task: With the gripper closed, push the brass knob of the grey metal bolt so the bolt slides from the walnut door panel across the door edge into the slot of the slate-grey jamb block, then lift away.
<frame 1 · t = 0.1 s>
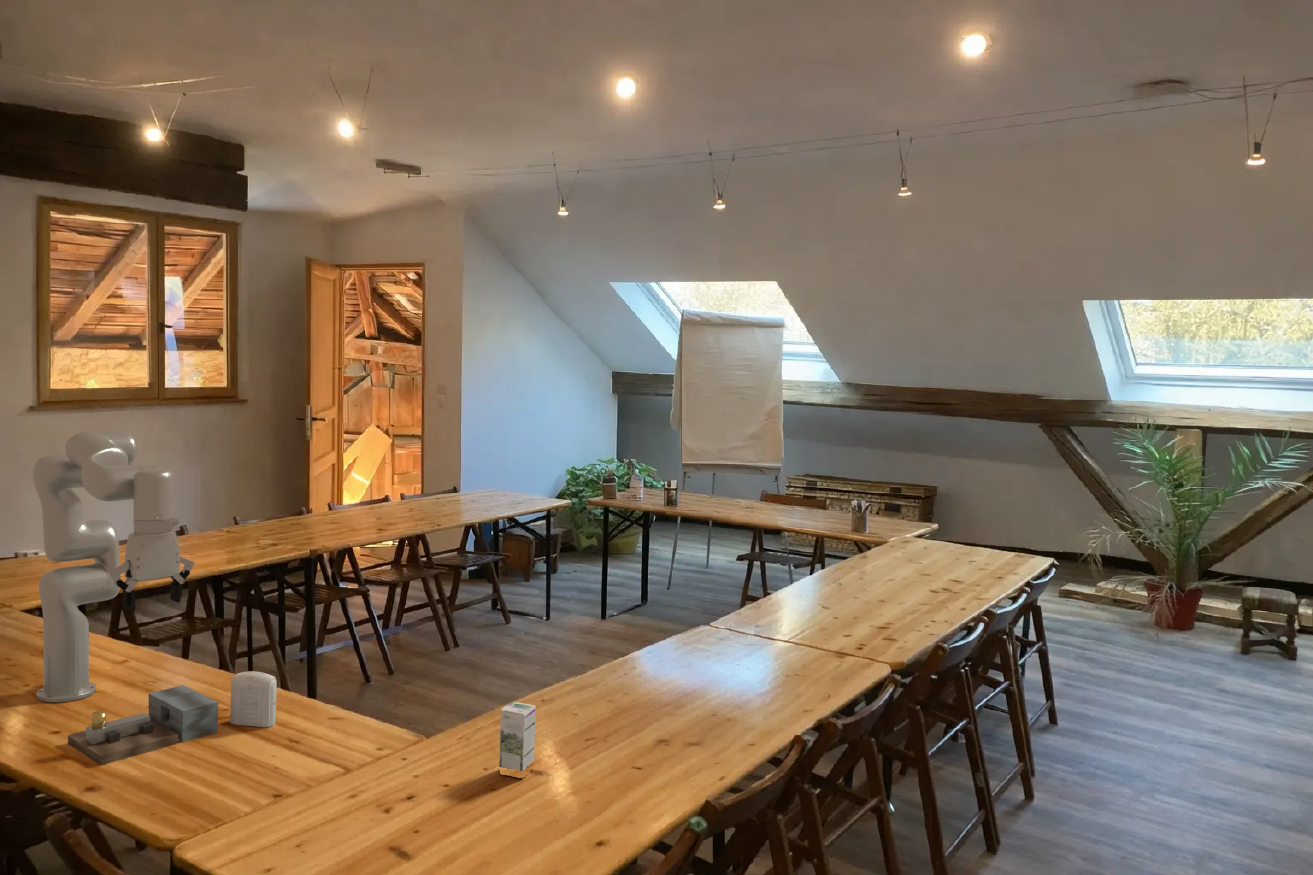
hand: (152, 604, 208), 31 cm above the table, tool pointing down, fingers open, 9 cm apart
photo printer: (253, 724, 225), on the table
bolt: (118, 721, 209), point 5 cm above the table, slide at 0.0 cm
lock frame: (146, 737, 214), on the table
syrup box: (516, 773, 205), on the table
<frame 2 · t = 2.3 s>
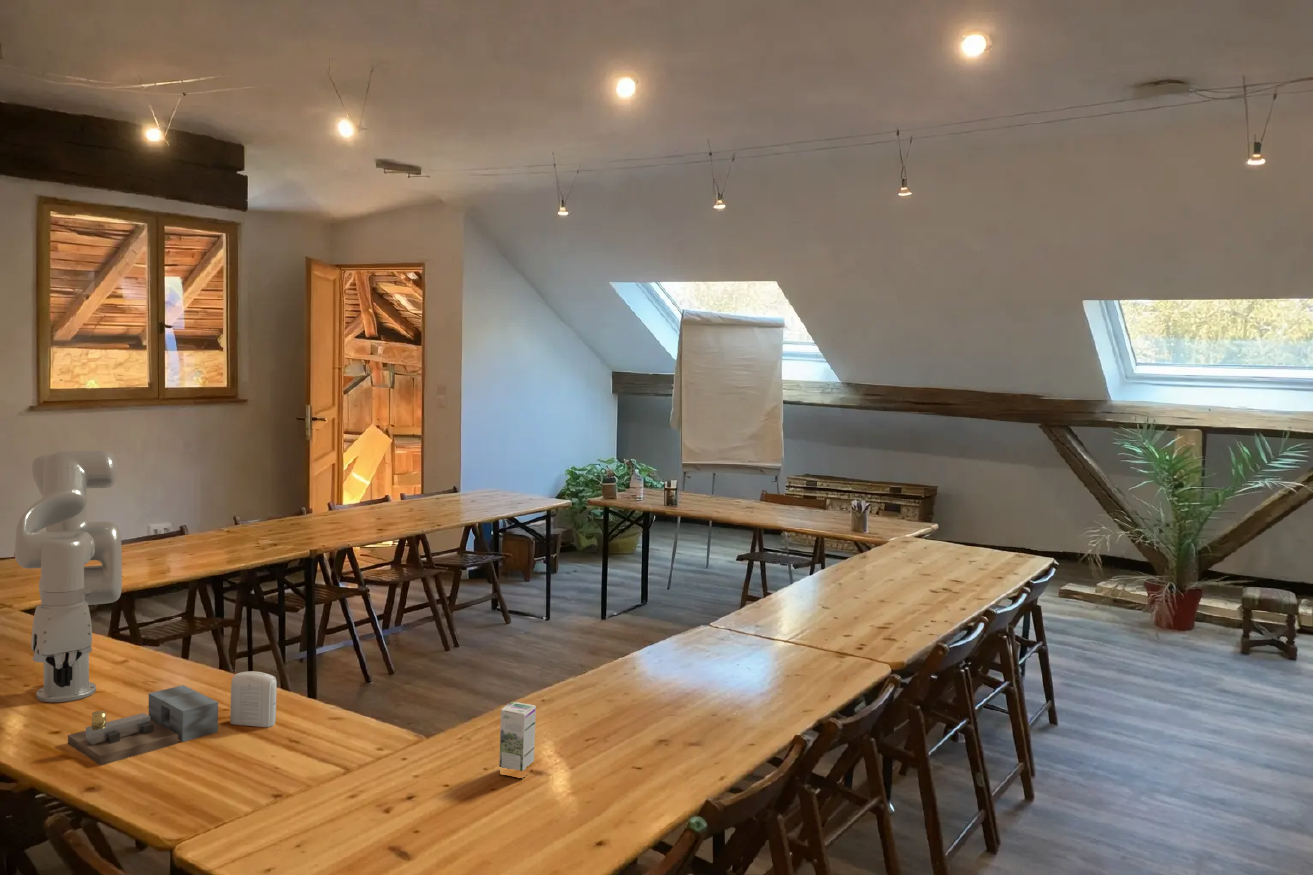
hand: (62, 685, 199), 16 cm above the table, tool pointing down, fingers closed
nothing on the table moved.
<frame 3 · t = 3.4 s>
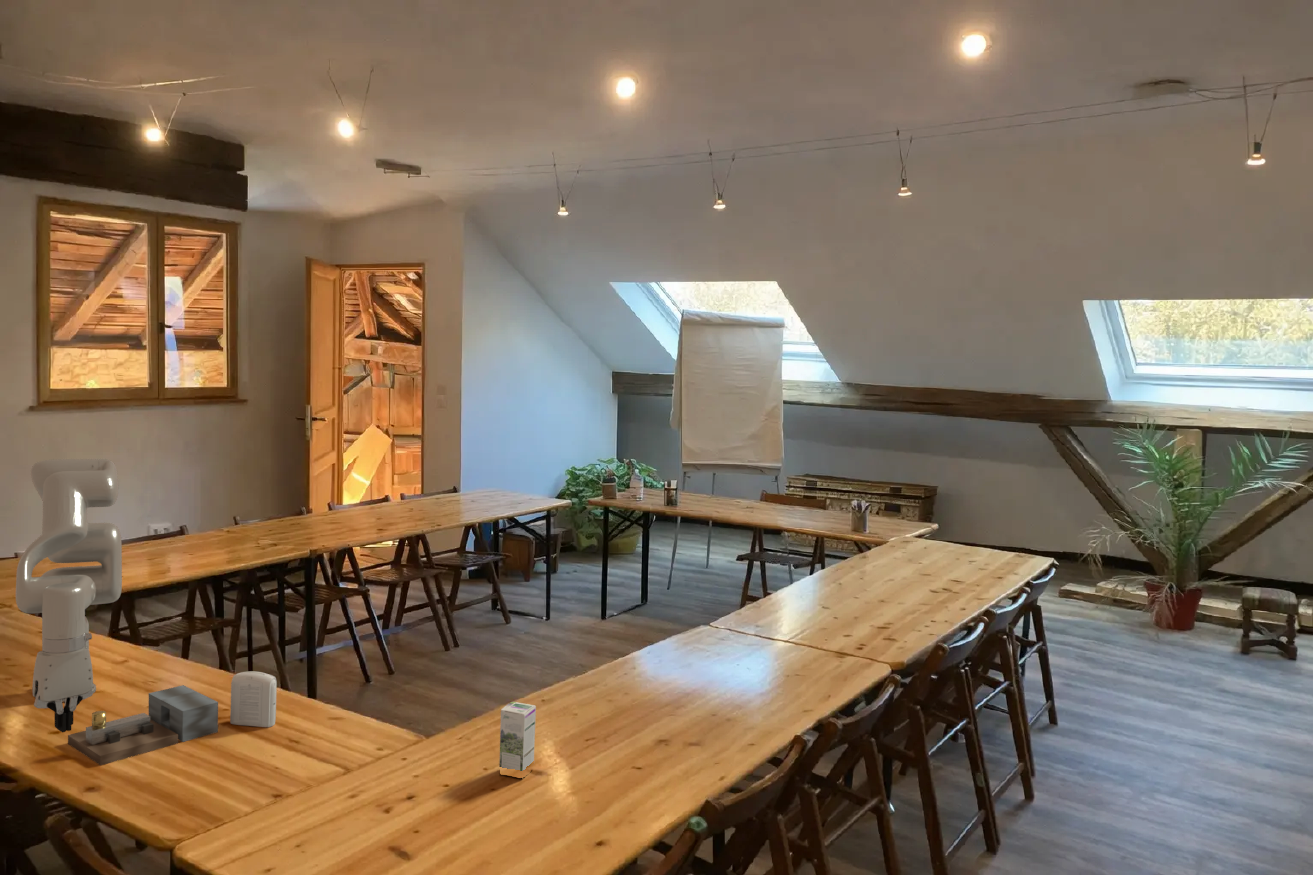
hand: (64, 729, 201), 7 cm above the table, tool pointing down, fingers closed
nothing on the table moved.
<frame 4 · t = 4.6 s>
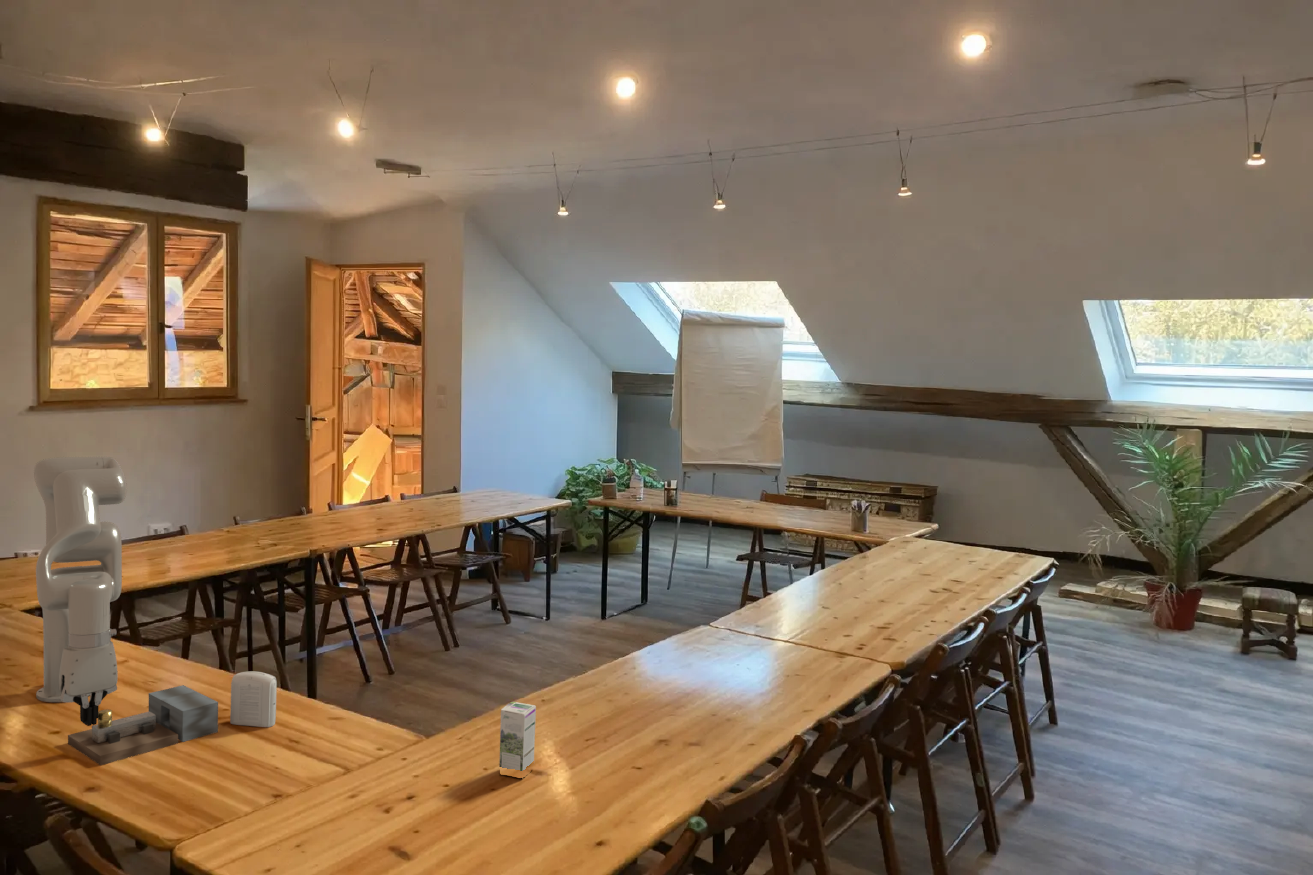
hand: (89, 723, 205), 6 cm above the table, tool pointing down, fingers closed
bolt: (124, 720, 210), point 5 cm above the table, slide at 1.2 cm, touching gripper
everything else where it was.
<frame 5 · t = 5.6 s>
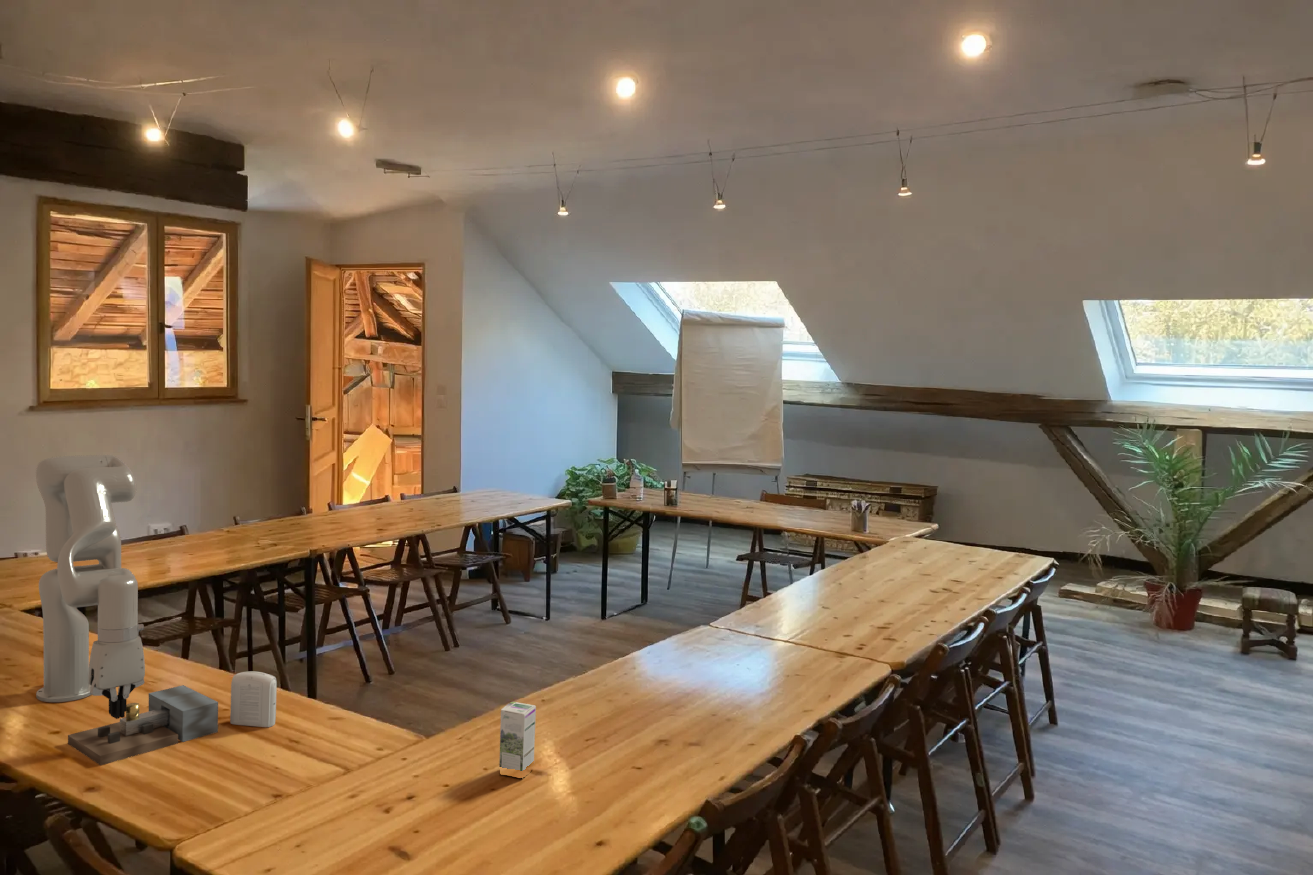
hand: (117, 716, 209), 6 cm above the table, tool pointing down, fingers closed
bolt: (151, 713, 215), point 5 cm above the table, slide at 6.9 cm, touching gripper
everything else where it was.
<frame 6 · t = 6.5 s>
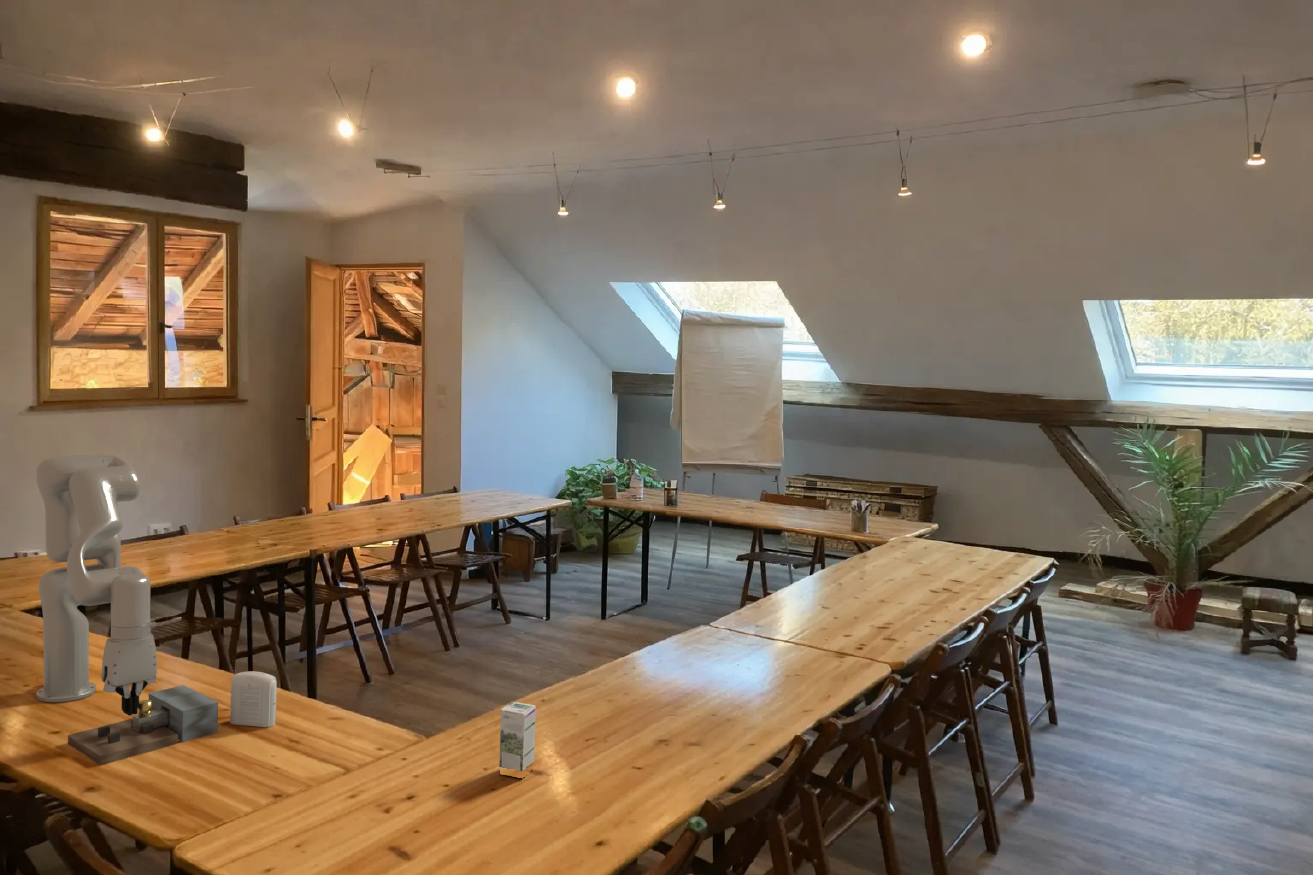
hand: (130, 712, 211), 6 cm above the table, tool pointing down, fingers closed
bolt: (163, 710, 217), point 5 cm above the table, slide at 9.6 cm, touching gripper
everything else where it was.
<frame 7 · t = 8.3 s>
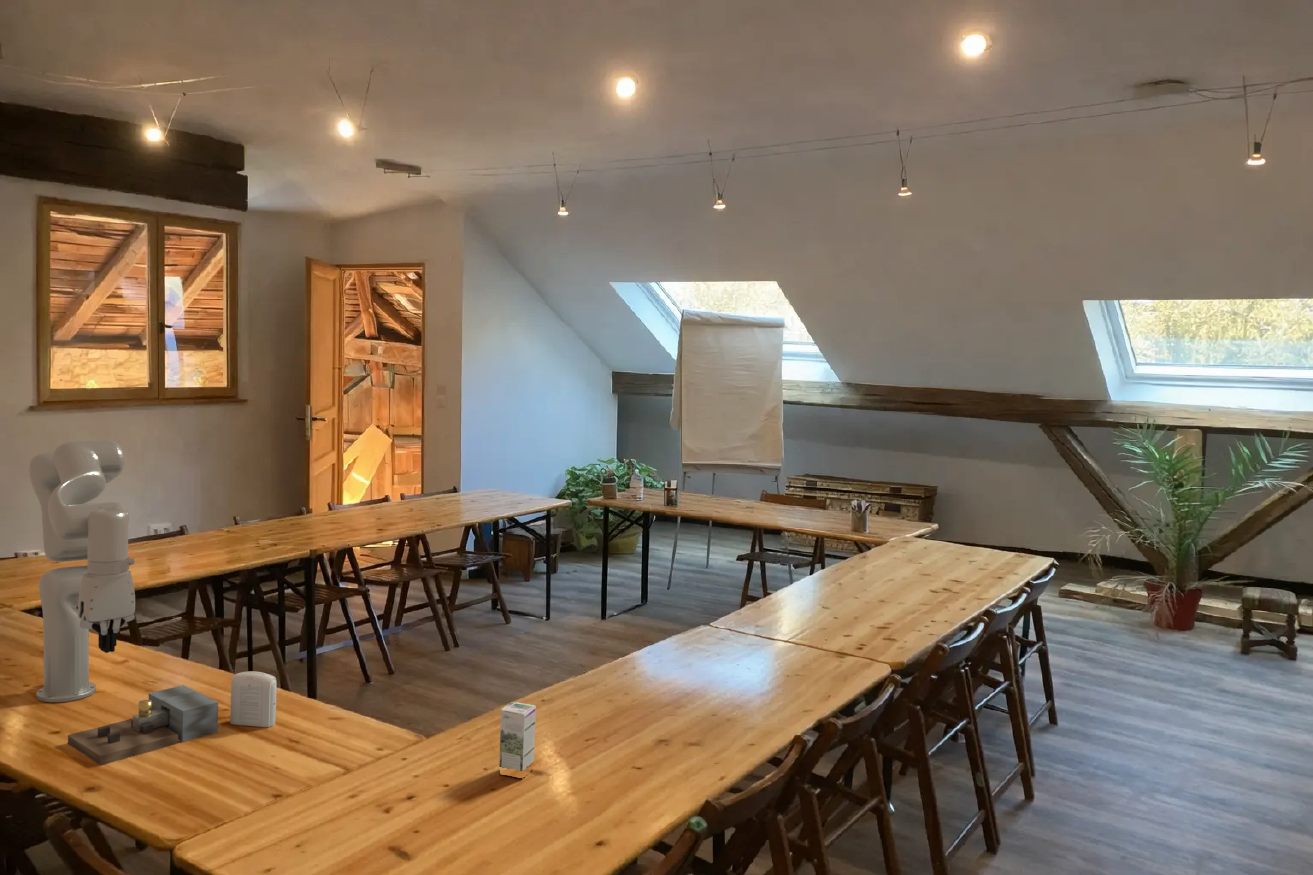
hand: (107, 650, 207), 21 cm above the table, tool pointing down, fingers closed
bolt: (163, 710, 217), point 5 cm above the table, slide at 9.6 cm
everything else where it was.
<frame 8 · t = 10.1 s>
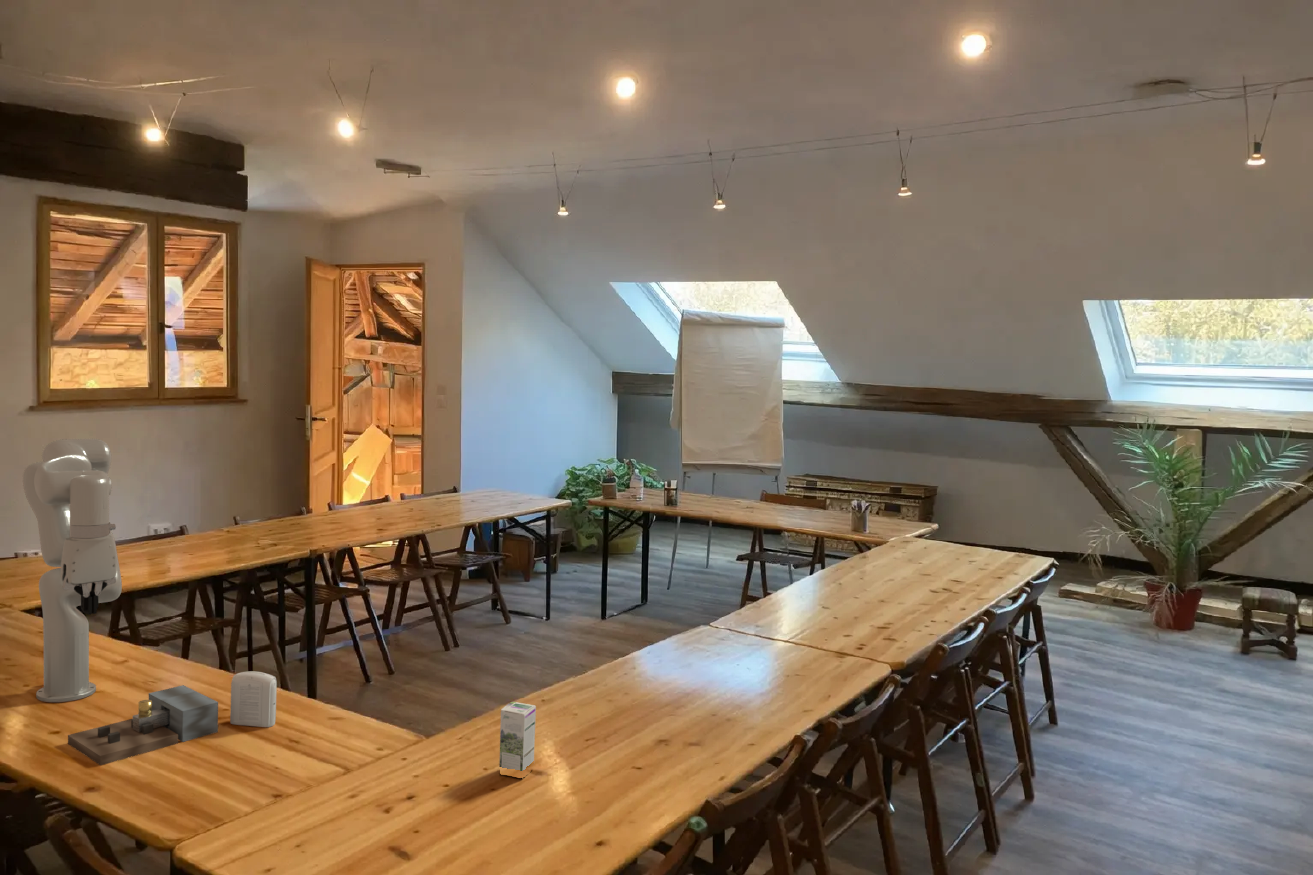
hand: (89, 612, 214), 27 cm above the table, tool pointing down, fingers closed
nothing on the table moved.
at the end: bolt slide at 9.6 cm; photo printer moved 0.3 cm from its start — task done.
